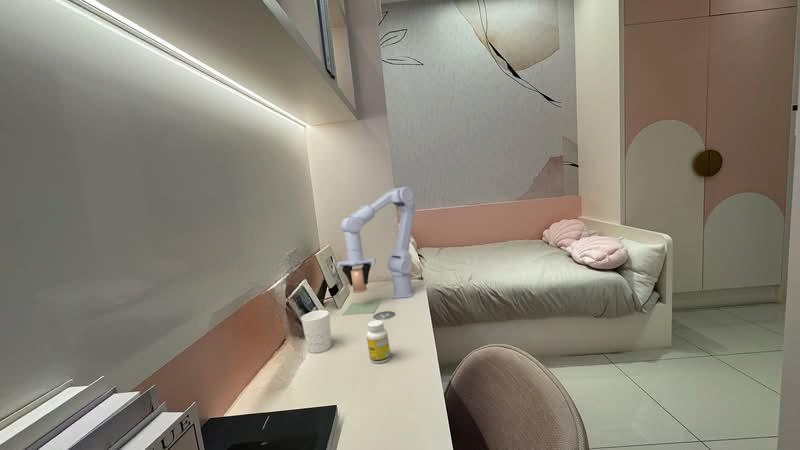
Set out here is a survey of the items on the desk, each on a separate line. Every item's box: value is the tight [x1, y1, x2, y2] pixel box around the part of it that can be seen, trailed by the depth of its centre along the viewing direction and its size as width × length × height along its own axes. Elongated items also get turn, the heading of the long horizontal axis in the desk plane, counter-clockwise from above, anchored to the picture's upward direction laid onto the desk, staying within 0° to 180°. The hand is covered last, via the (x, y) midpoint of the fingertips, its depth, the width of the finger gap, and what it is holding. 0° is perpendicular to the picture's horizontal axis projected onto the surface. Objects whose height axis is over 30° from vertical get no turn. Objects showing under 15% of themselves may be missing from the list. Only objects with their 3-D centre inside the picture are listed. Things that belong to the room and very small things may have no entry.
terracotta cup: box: [351, 267, 368, 294], centre depth 132 cm, size 5×5×8 cm
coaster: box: [372, 310, 396, 321], centre depth 122 cm, size 8×8×1 cm
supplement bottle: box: [366, 319, 391, 364], centre depth 90 cm, size 5×5×10 cm
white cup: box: [300, 309, 333, 354], centre depth 102 cm, size 8×8×10 cm
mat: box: [342, 300, 381, 316], centre depth 133 cm, size 12×12×1 cm
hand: (359, 284), depth 132 cm, fingers closed on terracotta cup, 5 cm apart
